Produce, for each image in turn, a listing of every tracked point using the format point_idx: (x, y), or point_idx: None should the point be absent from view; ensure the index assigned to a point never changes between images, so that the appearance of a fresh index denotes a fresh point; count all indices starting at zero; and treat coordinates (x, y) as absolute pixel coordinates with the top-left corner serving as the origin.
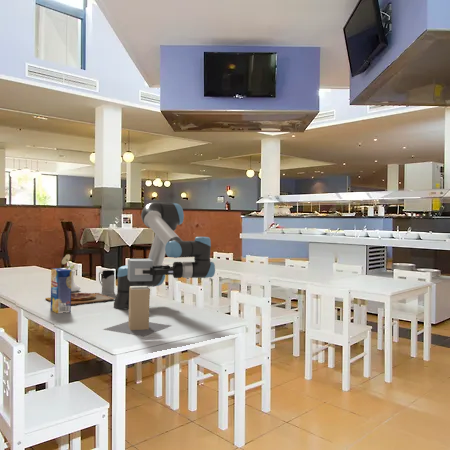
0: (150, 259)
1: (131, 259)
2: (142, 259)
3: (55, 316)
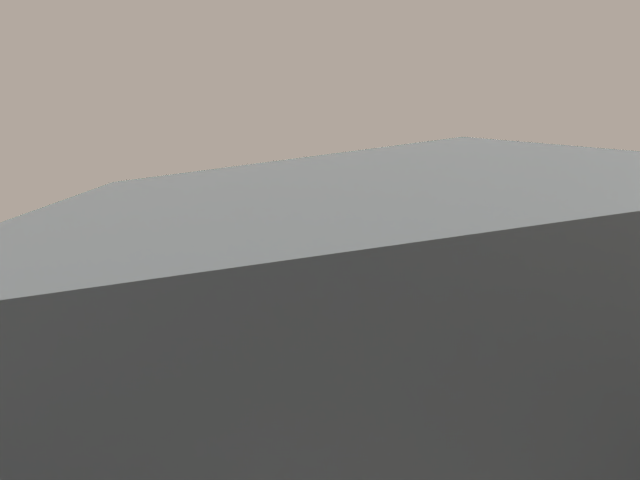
0: (529, 222)
1: (362, 153)
2: (413, 174)
3: None
